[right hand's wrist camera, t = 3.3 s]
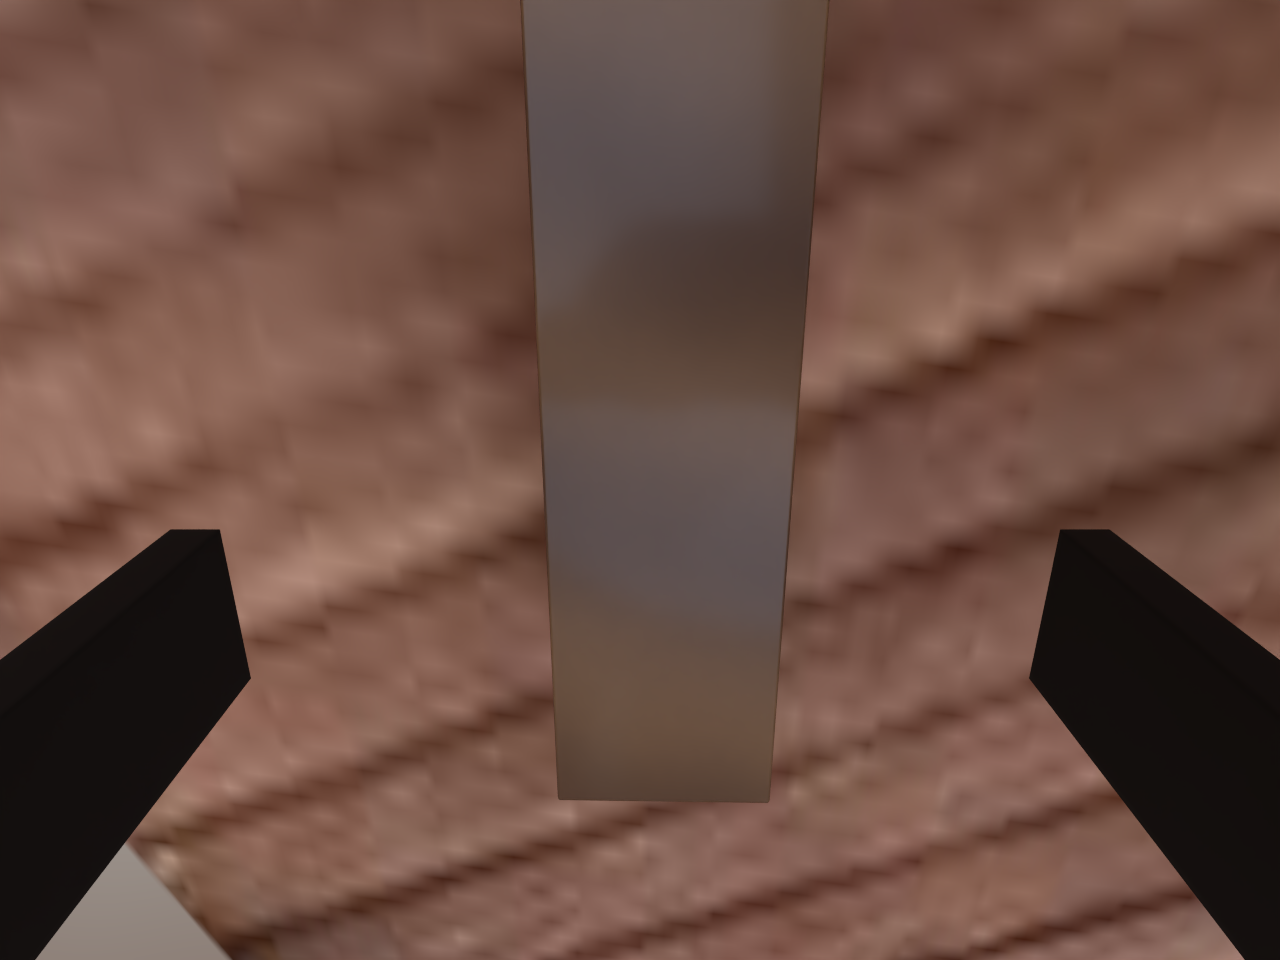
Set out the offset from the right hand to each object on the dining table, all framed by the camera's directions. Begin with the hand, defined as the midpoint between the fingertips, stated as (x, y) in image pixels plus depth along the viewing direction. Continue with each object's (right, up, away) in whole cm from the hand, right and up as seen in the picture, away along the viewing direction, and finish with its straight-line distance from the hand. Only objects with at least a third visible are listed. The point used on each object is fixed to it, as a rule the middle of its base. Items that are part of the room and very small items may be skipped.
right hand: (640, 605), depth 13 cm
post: (+1, +29, 0) cm, 29 cm away
